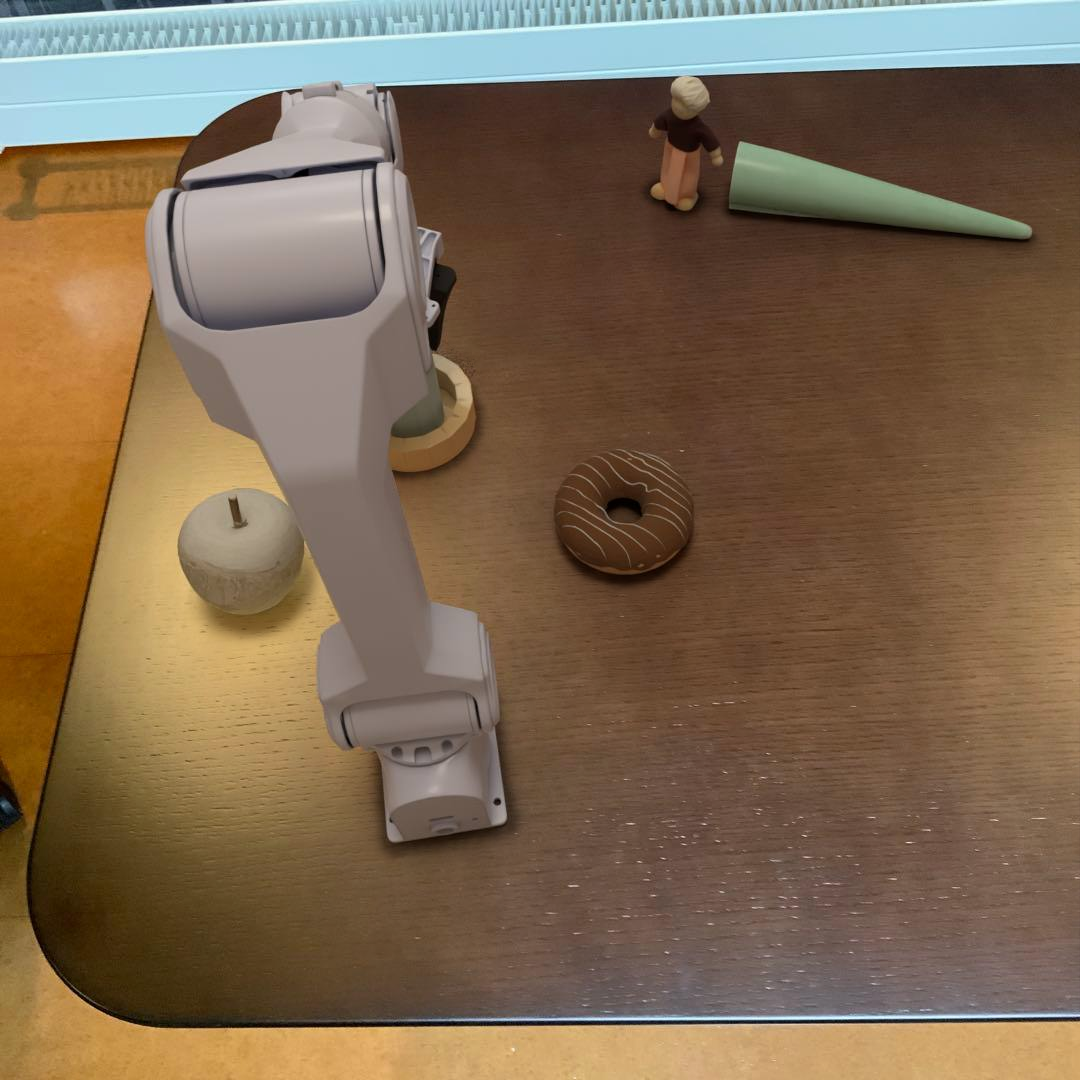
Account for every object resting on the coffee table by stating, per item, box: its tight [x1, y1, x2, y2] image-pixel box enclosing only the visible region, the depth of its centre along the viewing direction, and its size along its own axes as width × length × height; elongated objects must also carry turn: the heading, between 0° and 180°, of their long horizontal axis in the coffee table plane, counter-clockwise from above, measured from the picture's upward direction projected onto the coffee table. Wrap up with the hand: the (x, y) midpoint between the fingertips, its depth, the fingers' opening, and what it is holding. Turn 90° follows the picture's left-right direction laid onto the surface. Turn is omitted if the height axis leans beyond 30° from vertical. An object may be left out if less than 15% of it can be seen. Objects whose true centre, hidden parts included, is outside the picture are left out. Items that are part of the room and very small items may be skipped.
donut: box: [553, 448, 695, 575], centre depth 79 cm, size 11×11×4 cm
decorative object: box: [176, 487, 305, 616], centre depth 76 cm, size 9×9×10 cm
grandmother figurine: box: [648, 75, 724, 212], centre depth 93 cm, size 8×4×13 cm, turn 62°
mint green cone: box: [728, 141, 1033, 240], centre depth 94 cm, size 5×6×27 cm
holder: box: [388, 353, 477, 473], centre depth 86 cm, size 10×10×3 cm
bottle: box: [391, 348, 444, 439], centre depth 82 cm, size 5×5×10 cm
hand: (405, 380), depth 82 cm, fingers open, 7 cm apart
